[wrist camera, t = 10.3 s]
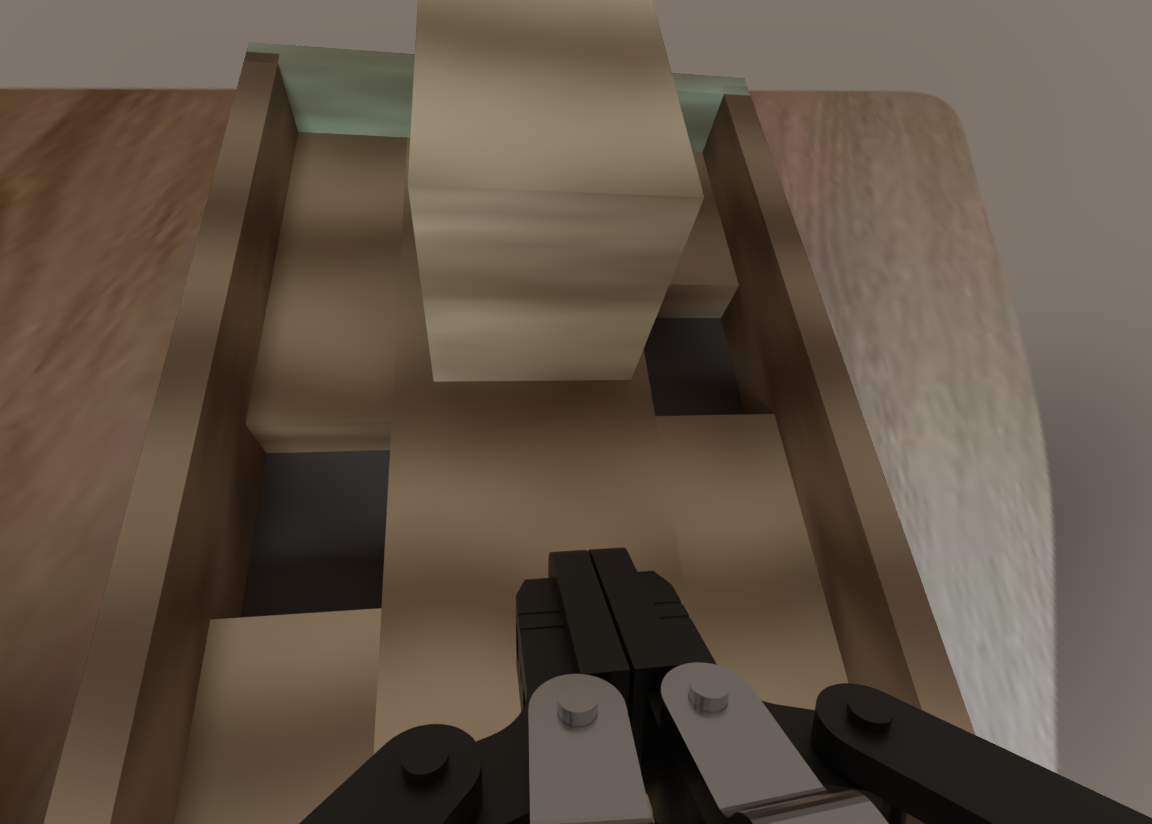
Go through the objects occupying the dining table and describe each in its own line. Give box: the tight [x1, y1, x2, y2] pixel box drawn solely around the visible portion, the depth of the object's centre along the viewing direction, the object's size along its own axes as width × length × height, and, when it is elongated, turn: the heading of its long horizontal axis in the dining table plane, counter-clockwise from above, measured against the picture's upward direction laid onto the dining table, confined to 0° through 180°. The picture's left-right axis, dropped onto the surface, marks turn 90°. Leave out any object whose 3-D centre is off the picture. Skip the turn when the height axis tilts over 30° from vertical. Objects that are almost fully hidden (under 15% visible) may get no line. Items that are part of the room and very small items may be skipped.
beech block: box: [408, 0, 704, 382], centre depth 21 cm, size 11×7×8 cm, turn 5°
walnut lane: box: [43, 42, 975, 824], centre depth 21 cm, size 30×20×6 cm
